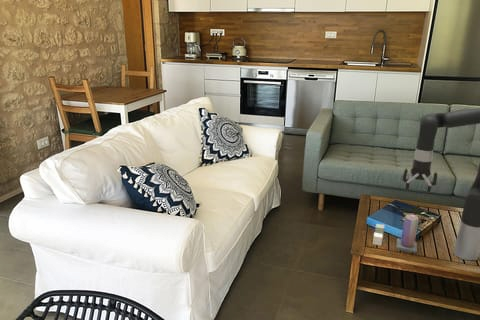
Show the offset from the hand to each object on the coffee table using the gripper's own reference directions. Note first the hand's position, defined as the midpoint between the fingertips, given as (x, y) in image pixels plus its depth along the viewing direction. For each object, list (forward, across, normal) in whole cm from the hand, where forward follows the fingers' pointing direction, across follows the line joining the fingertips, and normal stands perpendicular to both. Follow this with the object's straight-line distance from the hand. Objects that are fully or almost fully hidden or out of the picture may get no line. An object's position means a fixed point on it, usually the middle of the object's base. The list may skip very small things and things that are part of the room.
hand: (417, 191), depth 182 cm
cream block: (+29, +14, +4) cm, 32 cm away
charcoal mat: (+28, +1, +2) cm, 29 cm away
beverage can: (+28, +1, +2) cm, 28 cm away
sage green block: (+29, +14, -6) cm, 32 cm away
